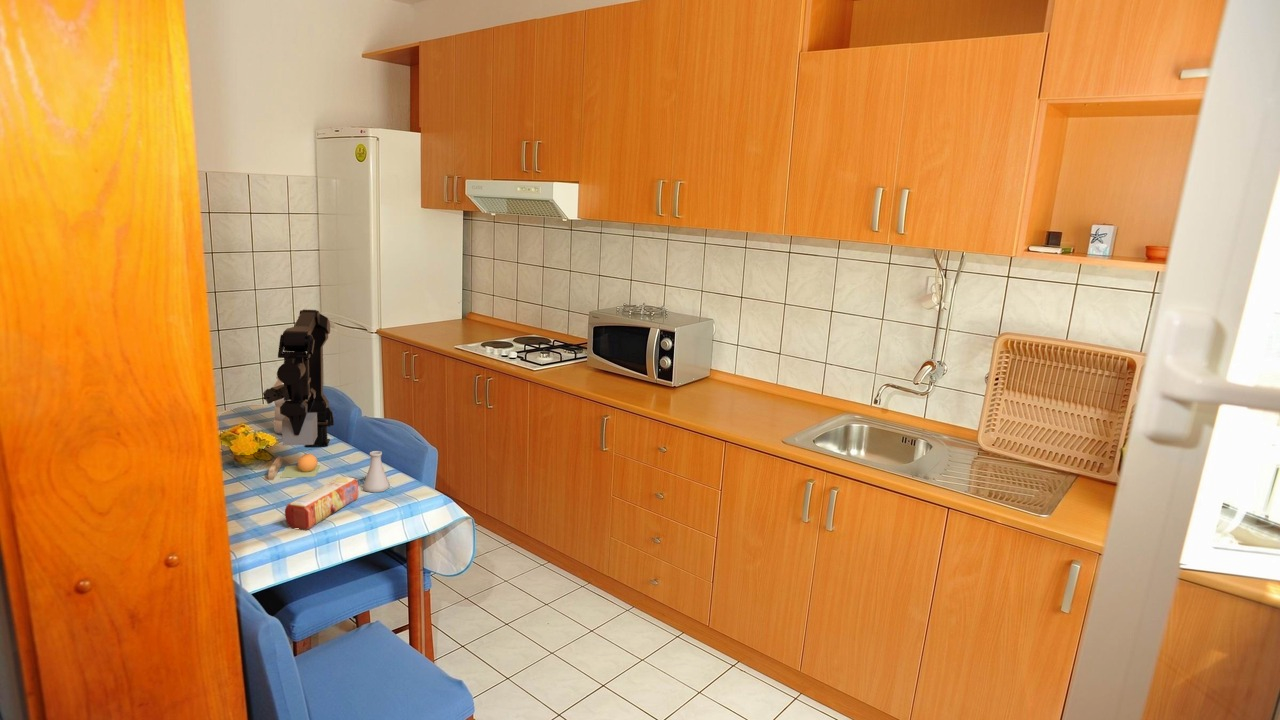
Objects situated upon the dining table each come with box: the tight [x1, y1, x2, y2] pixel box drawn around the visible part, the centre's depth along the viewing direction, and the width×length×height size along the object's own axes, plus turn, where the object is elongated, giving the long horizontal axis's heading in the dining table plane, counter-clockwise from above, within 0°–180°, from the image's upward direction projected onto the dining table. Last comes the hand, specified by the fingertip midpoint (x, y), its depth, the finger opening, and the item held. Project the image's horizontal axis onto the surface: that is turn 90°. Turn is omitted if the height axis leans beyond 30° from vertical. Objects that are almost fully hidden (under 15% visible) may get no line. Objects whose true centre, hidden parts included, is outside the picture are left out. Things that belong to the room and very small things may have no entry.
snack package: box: [284, 476, 359, 530], centre depth 179 cm, size 21×7×7 cm, turn 168°
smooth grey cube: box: [281, 413, 317, 446], centre depth 203 cm, size 8×8×7 cm
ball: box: [297, 453, 318, 472], centre depth 205 cm, size 5×5×5 cm
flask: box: [361, 450, 391, 493], centre depth 196 cm, size 7×7×10 cm
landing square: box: [279, 464, 321, 479], centre depth 205 cm, size 9×9×1 cm
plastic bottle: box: [272, 375, 291, 435], centre depth 236 cm, size 6×7×20 cm
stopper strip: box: [268, 456, 282, 481], centre depth 203 cm, size 12×1×2 cm, turn 16°
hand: (299, 430), depth 203 cm, fingers closed on smooth grey cube, 8 cm apart
